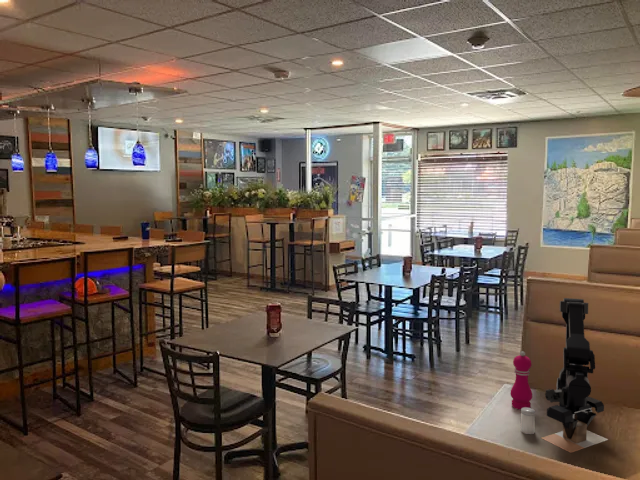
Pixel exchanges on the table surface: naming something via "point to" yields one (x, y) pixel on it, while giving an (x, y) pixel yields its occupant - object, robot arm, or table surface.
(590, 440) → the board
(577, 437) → the block
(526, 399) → the pepper mill
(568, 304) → the robot arm
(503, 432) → the table surface
